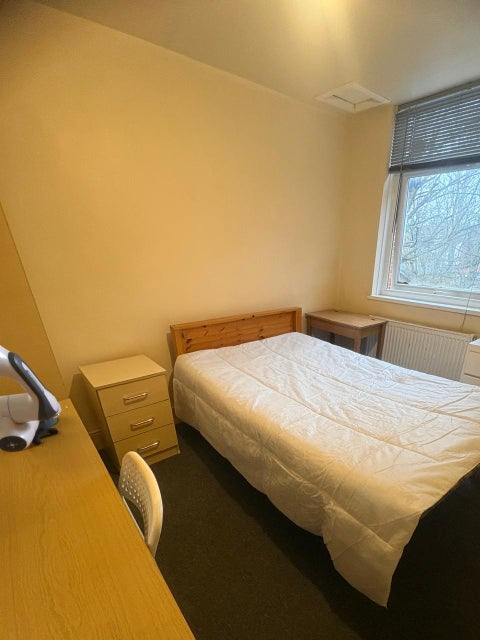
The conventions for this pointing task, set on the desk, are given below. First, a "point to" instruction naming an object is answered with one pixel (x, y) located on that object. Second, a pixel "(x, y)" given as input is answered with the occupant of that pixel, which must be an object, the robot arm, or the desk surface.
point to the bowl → (47, 423)
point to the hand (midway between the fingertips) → (31, 405)
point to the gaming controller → (42, 431)
